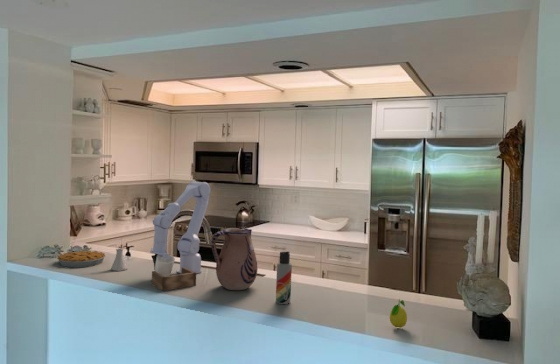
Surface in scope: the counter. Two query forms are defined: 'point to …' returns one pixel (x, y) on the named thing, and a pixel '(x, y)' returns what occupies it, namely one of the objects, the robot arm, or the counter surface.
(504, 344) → the counter surface
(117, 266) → the flask
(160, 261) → the white cup
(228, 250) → the ceramic pitcher
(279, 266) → the lotion bottle
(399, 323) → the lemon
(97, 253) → the pie
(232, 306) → the counter surface
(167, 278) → the wooden box
